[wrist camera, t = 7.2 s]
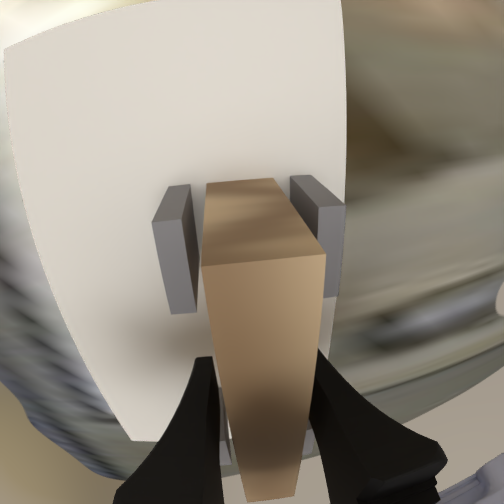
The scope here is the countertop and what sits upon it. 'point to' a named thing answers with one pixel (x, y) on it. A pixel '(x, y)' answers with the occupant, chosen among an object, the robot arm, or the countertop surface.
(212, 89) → the board
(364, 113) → the countertop surface
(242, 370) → the door panel
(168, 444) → the robot arm
